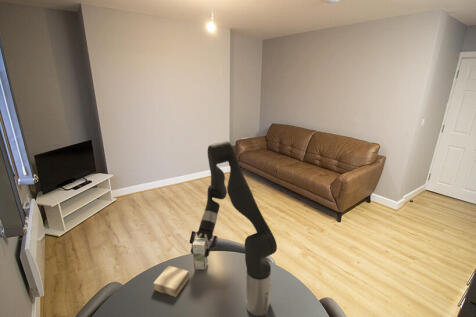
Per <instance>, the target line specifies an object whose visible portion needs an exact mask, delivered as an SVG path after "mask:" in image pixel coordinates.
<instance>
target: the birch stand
mask: <svg viewBox="0 0 476 317" xmlns="http://www.w3.org/2000/svg"><path fill="white" fill-rule="evenodd" d="M189 271H190V270H186V269H183V268H179V267H176V266H175V267H174V266H171V265H167V267H166V268H165V269H164V270H162V273H161V274H159V276H157V278H156V279H155V281H153V290H154V291H155V292H159V293H162V294H166V295H169V296H171V297H176V298H177V296H178V295H179V293H180V292H181V290H182V289H183V287H184V286H185V285H186V284H187V282H188V280H189V279H190V272H189Z"/></svg>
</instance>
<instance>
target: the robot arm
mask: <svg viewBox="0 0 476 317" xmlns="http://www.w3.org/2000/svg"><path fill="white" fill-rule="evenodd" d="M207 160H208V166H209V171H210V185H208V188H207V200H206V205H205V209H204V211H203V215H202V217H201V221H200V224H199V227H198V230H197V231H194V230H193V231H191V235H190V236H189V238H190V239H189V244H190V245H191V247H190V254H191V255H193V245H192V244H193V242H194V240H195V238H206V244H207V249H206V252H205V256H204V257H207V258H208V257H209V256H210V253H211V250H213V249H214V250H215V248H216V245H217V242H218V239H219V237H218V236H217V235H214V232H215V227H216V223H217V220H218V215H219V210H220V203H219V202H217V201H215V200H213V198H214V199H216V200H217V199H218V200H224V199H225V198H226V197H227V196H228V197H229V200H230V202H231V205H232V206H233V208H234V209H235V210H236V211H237V212H239V213H240V214H241V215H242V216H244V217H245V218H246V219H248V221H249V222H250V223H251V224H252V226H253V227H254V230H255V231H256V232H254V233H252V234H249V235H248V236H246V238H245V239H244V240H245V241H244V256H245V258H244V260H245V266H246V267H245V268H246V297H245V298H246V300H245V304H246V306H245V307H246V310H247V311H248V312H249V314H250V315H253V316H255V317H262V316H268V313H269V309H270V305H271V291H272V284H271V272H272V271H271V270H272V268H271V263H270V262H269V261H268V260H267V259H265V258H267V257H270V256H272V255H274V254H275V253H276V252H277V250H278V246H277V241H276V238H275V236H274V233H273V232H272V229H271V228H270V226H269V225H268V223H267V222H266V220H265V218H264V216H263V214H262V212H261V210H260V208H259V206H258V204H257V202H256V200H255V197H254V195H253V192H252V190H251V188H250V185H249V184H248V181H247V179H246V178H245V176H244V173H243V172H242V169H241V166H240V164H239V160H238V158H237V156H236V153H235V150H234V147H233V145H232V144H231V142H229V141H228V140H224V141H220V142H217V143H212V144H210V145H208V147H207ZM227 162H228V165H229V170H230V171H229V177H228V181H227V186H226V184H225V182H226V175H225V173H224V171H223V170H222V169H221V168H220V167H219V166H218V165H220V164H223V163H227ZM196 236H197V237H196ZM211 239H212V242H211Z"/></svg>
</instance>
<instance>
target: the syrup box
mask: <svg viewBox="0 0 476 317" xmlns="http://www.w3.org/2000/svg"><path fill="white" fill-rule="evenodd" d="M192 245H193V254H192V255H193V269H194V270H198V271H199V270H202V271H206V269H207V267H208V262H209V259H208V256H207V257H204V256H205V252H206V249H207V244H206V238H197V237H195V239H194V242H193V244H191V246H192Z"/></svg>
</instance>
